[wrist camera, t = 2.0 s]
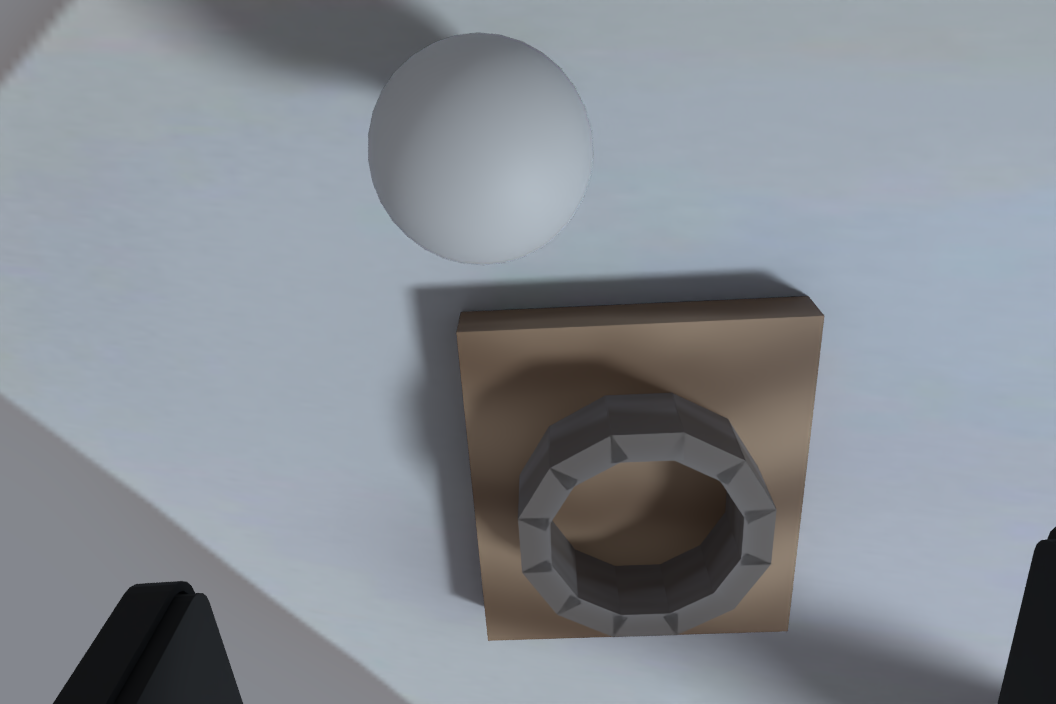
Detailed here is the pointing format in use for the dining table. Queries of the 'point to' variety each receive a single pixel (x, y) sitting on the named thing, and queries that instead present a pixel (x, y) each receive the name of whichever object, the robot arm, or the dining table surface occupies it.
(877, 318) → the dining table surface
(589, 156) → the lightbulb
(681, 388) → the socket base
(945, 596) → the dining table surface
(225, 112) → the dining table surface
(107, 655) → the robot arm
